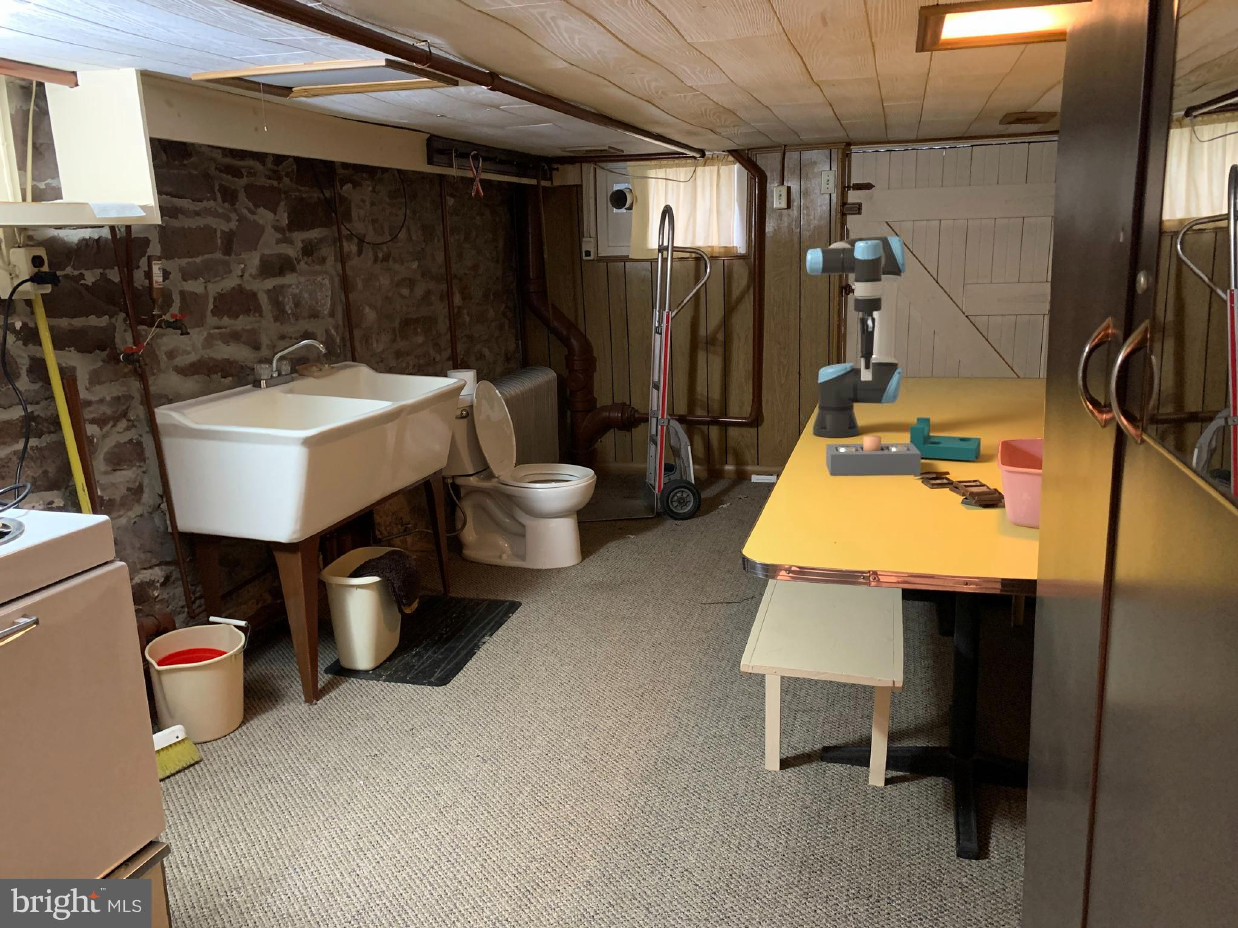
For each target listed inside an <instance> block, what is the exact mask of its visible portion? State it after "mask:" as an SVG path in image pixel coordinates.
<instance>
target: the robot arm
mask: <svg viewBox="0 0 1238 928" xmlns="http://www.w3.org/2000/svg"><path fill="white" fill-rule="evenodd" d="M805 261H806V264H805V265H806V266H805V267H806V271H807V274H808V275H812V276H814V275H815V276H816V275H817V276H820V275H821V276H822V275H841V274H842V275H844V274H845V275H848V274H849V275H850V274H851V275H852V274H854V285H852V286H851V288H852V290H853V291H854V293H853V295H854V297H855V298H854V299H853V311H854V312H857V313H861V317H859V320H858V321H859V325H860V328H859V332H860V354H861V355H860V356H859V357H860V359H861V365H860V366H861V367H856V365H855V364H854V362H853V363H852V362H850V363H847V362H845V363H837V364H831V365H827V366H824V367H822V368H820V369H819V371H818V380H817V384H818V388H817V389H818V391H817V392H818V393H817V395H818V396H817V398H818V400H817V408H818V409H817V413H816V417H815V420H814V423H813V426H812V435H814V436H817V437H823V438H850V437H851V438H852V437H855V436H858V435H859V434H860V433H859V432H860V431H859V430H860V429H859V428H860V427H859V424H858V420H857V416H856V414H855V410H854V409H855V407H854V406H855V405H854V404H879V405H880V404H881V405H884V404H894V403H896V402H897V400H898V398H899V395H900V391H901V390H900V389H901V385H902V379H903V378H902V377H903V368H901V367H900V366H899V361H898V360H897V359H895V357H894V356H895V355H894V353H895V329H896V328H895V326H896V302H897V301H896V298H897V296H896V295H897V284H898V282H899V281H900V280H901V279H902V274H905V273H906V272H907V263H906V251H905V245H904V240H903V238H902V237H901V236H889V235H885V236H871V237H870V236H869V237H853V238H847V239H843V240H841V241H838V242H834V243H832V244H831V245H830V246H829V247H826V248H824V247H823V248H820V247H817V248H810V249H808V251H807V253H806V259H805Z"/></svg>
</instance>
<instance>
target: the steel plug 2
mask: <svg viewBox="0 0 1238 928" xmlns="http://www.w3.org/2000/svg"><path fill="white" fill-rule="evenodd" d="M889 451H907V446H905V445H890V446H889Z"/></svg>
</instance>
